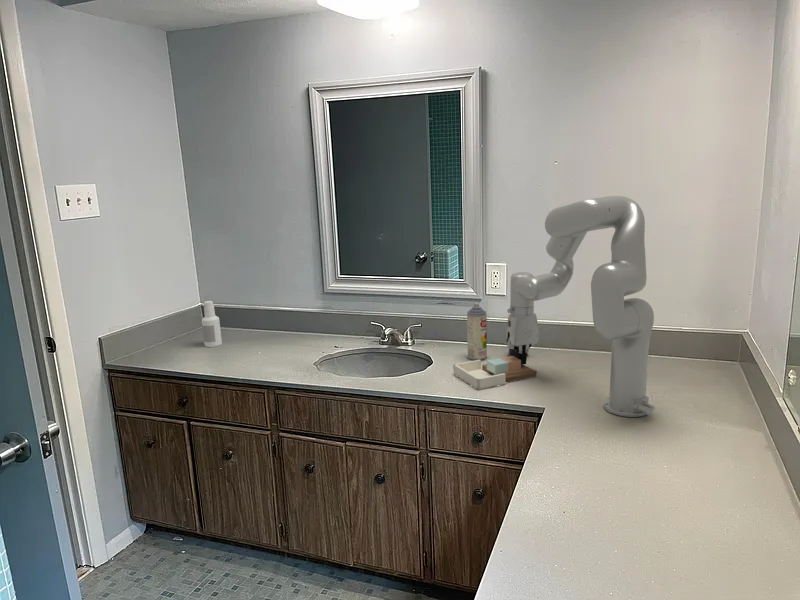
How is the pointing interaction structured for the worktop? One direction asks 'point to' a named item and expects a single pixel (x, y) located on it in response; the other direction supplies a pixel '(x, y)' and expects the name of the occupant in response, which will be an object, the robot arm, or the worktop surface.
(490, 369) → the teal tile
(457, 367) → the box
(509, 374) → the walnut board
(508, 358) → the clay tile
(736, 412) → the worktop surface
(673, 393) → the worktop surface
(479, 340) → the aerosol can
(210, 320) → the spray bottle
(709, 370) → the worktop surface
